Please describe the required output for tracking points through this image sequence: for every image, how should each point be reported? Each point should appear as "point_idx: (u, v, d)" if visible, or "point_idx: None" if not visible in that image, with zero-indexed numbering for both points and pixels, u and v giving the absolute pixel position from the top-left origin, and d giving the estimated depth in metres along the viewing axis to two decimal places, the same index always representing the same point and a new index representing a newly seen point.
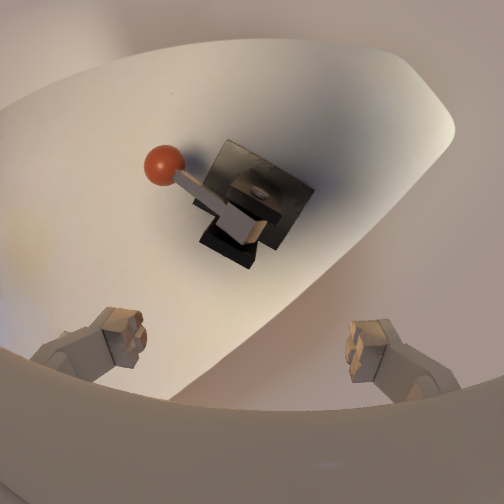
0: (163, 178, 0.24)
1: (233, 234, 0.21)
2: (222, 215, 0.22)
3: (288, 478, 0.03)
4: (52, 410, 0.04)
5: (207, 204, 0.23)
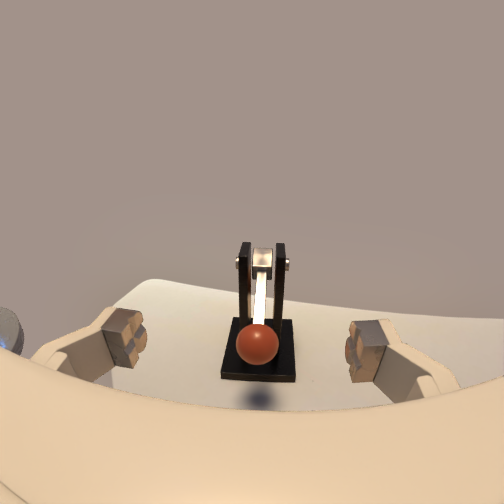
0: (265, 325, 0.26)
1: (269, 254, 0.32)
2: (263, 265, 0.31)
3: (288, 478, 0.03)
4: (52, 410, 0.04)
5: (264, 284, 0.30)
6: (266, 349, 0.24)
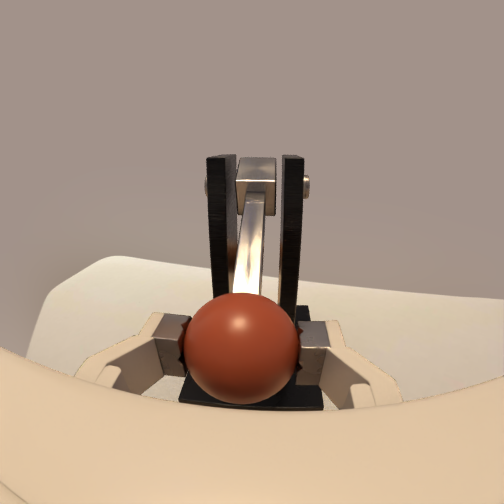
0: (264, 297, 0.10)
1: (271, 165, 0.16)
2: (257, 179, 0.15)
3: (288, 478, 0.03)
4: (52, 410, 0.04)
5: (261, 213, 0.14)
6: (265, 365, 0.08)
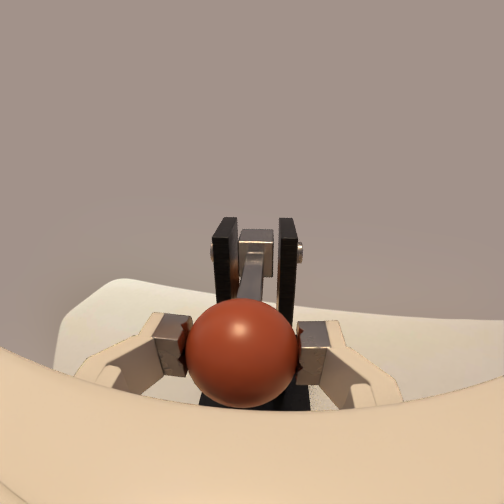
0: None
1: (269, 233, 0.19)
2: (257, 241, 0.17)
3: (288, 478, 0.03)
4: (52, 410, 0.04)
5: (260, 265, 0.16)
6: (266, 345, 0.08)
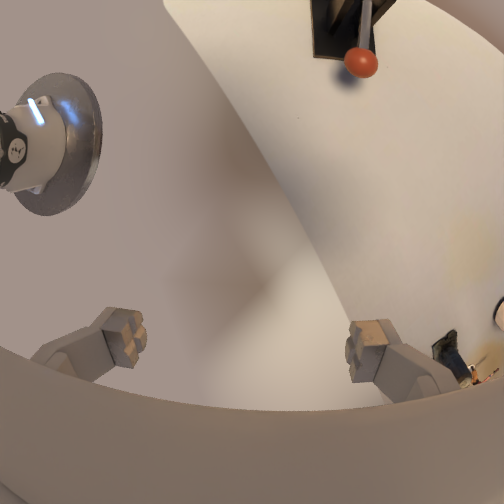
0: (371, 53, 0.23)
1: None
2: None
3: (288, 478, 0.03)
4: (52, 410, 0.04)
5: (370, 12, 0.19)
6: (370, 75, 0.24)
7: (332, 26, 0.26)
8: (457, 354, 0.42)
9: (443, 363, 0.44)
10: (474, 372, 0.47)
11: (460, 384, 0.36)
